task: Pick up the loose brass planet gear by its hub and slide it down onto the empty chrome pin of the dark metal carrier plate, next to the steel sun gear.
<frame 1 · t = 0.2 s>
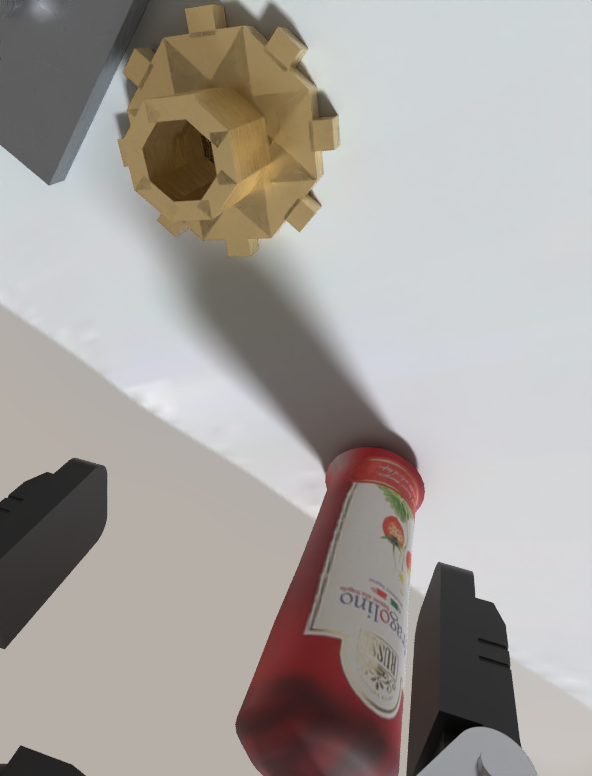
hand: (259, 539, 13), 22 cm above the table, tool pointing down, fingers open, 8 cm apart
planet gear: (231, 140, 30), on the table
liquor: (376, 472, 40), on the table
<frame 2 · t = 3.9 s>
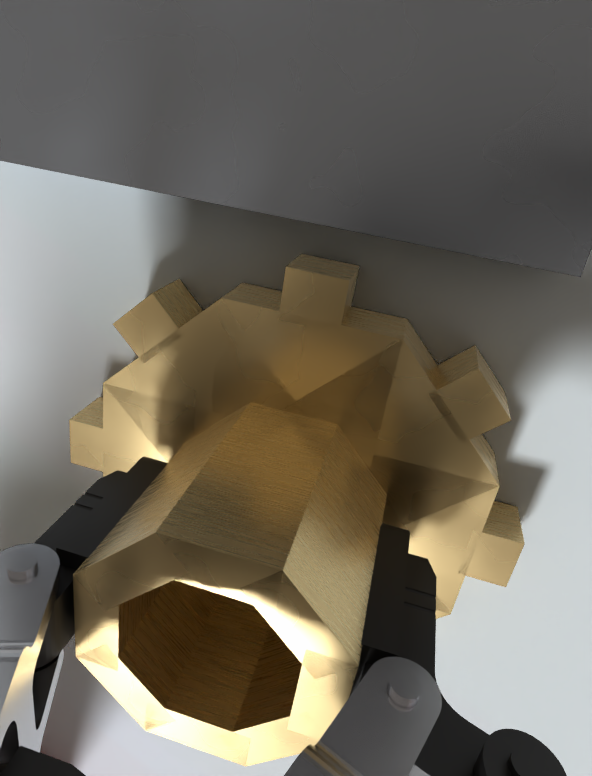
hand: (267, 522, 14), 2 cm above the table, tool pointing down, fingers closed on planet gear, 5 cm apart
planet gear: (292, 469, 16), on the table, touching gripper
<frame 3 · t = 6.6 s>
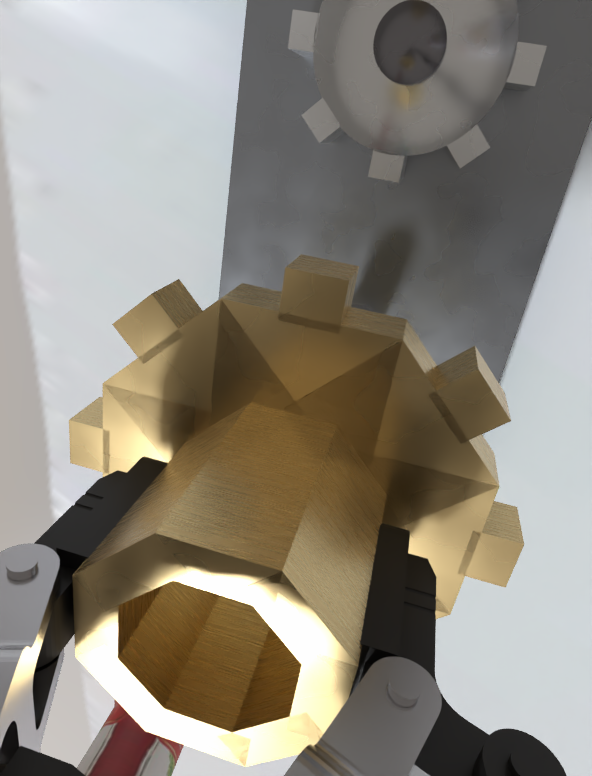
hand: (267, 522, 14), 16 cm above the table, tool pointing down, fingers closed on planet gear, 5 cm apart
carrier plate: (416, 60, 23), on the table
planet gear: (292, 469, 16), point 14 cm above the table, touching gripper
liquor: (163, 696, 45), on the table
when the fingers open (5 cm above the table, at t = 9.4 s): planet gear stays where it is, resting on carrier plate.
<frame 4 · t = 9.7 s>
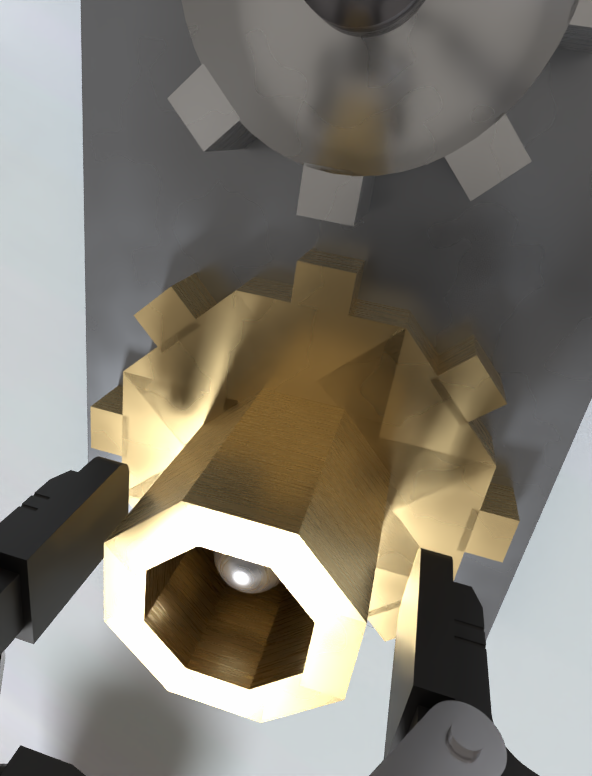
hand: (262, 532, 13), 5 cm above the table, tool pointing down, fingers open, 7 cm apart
carrier plate: (390, 3, 13), on the table
planet gear: (301, 453, 17), point 1 cm above the table, touching carrier plate
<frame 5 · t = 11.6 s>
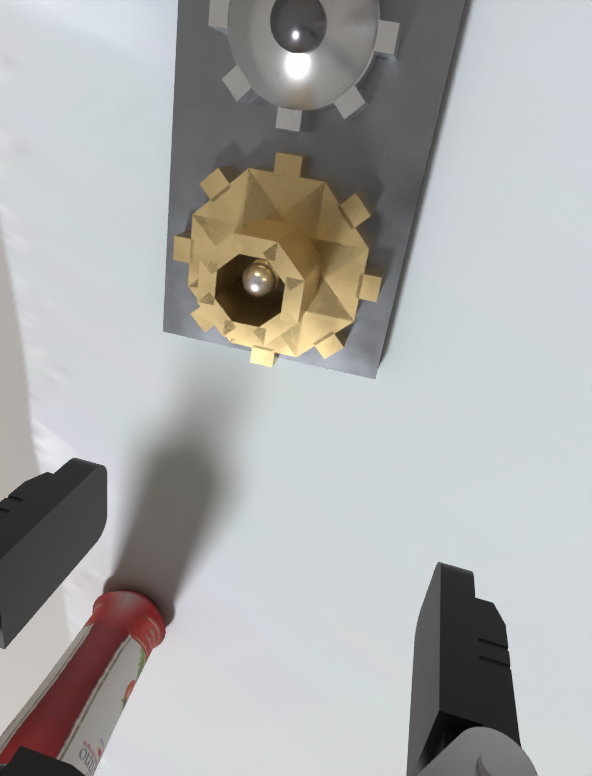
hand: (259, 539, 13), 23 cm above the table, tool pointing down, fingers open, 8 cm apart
carrier plate: (316, 37, 29), on the table
planet gear: (280, 262, 33), point 1 cm above the table, touching carrier plate
liquor: (136, 608, 50), on the table
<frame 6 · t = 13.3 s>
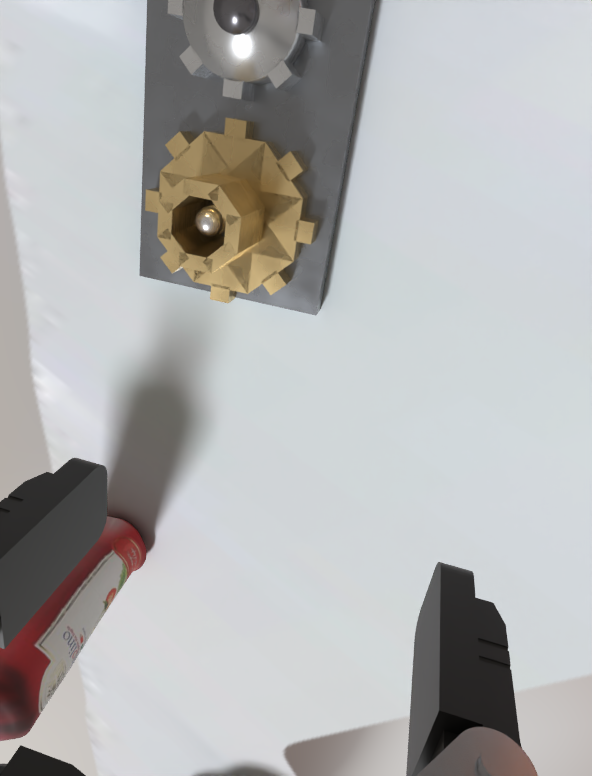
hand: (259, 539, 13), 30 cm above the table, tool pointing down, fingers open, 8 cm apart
carrier plate: (260, 24, 35), on the table
planet gear: (234, 213, 39), point 1 cm above the table, touching carrier plate
liquor: (122, 535, 57), on the table
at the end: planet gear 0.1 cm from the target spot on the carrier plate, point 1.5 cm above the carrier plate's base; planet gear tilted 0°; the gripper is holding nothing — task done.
